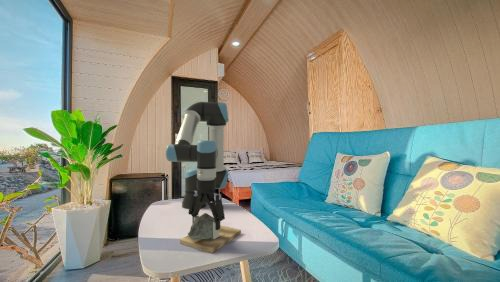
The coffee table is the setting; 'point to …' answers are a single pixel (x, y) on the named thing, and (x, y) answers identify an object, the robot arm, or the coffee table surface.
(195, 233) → the stone
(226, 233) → the board
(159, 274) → the coffee table surface
